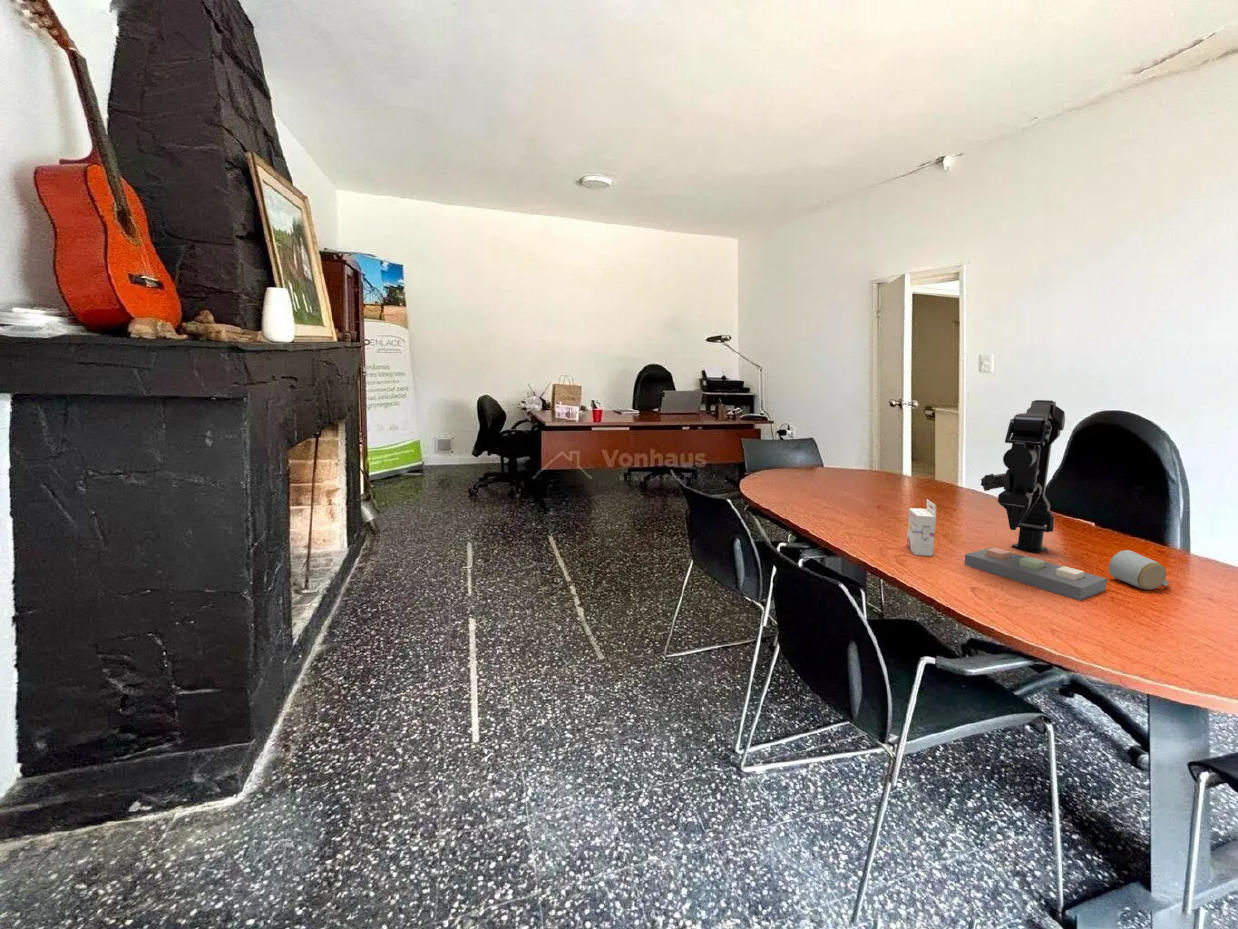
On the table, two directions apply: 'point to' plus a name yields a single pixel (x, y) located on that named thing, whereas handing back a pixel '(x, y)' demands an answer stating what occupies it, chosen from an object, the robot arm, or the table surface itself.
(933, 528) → the ink cartridge box
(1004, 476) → the robot arm
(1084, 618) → the table surface
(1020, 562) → the sage button
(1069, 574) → the cream button
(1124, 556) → the ceramic mug
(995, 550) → the terracotta button
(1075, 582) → the console
